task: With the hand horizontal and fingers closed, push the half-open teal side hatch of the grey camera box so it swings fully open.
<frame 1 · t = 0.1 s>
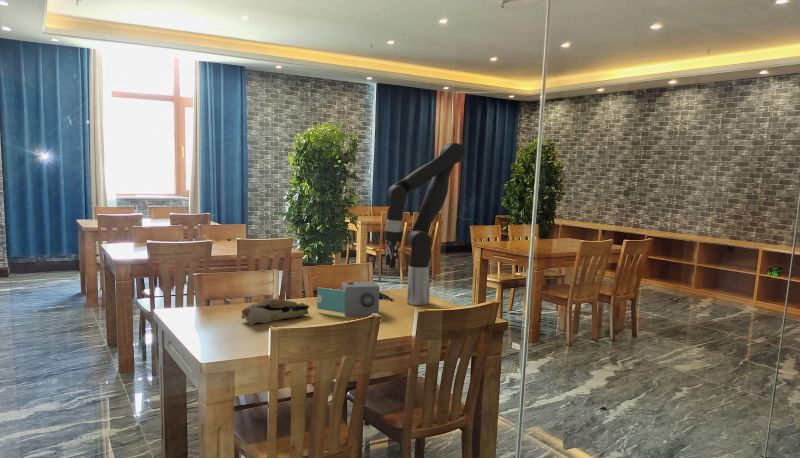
hand: (390, 266, 244), 17 cm above the table, tool pointing down, fingers open, 8 cm apart
camera box: (359, 312, 231), on the table
mineral: (278, 320, 216), on the table
door: (330, 300, 225), point 6 cm above the table, hinge at 50.0°
gun: (368, 299, 258), on the table
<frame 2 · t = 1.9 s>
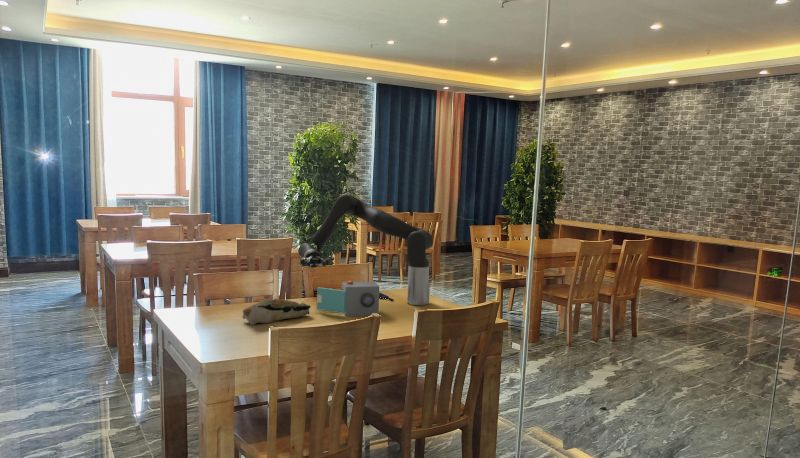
hand: (316, 264, 239), 18 cm above the table, tool horizontal, fingers open, 5 cm apart
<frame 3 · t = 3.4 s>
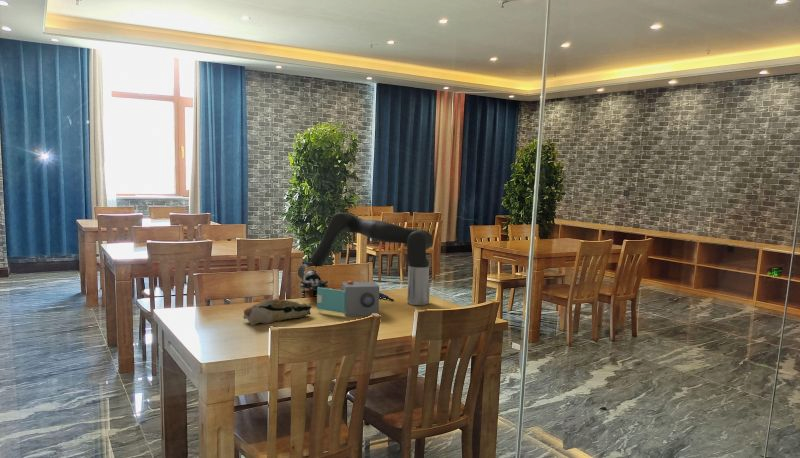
hand: (316, 288, 240), 8 cm above the table, tool horizontal, fingers closed
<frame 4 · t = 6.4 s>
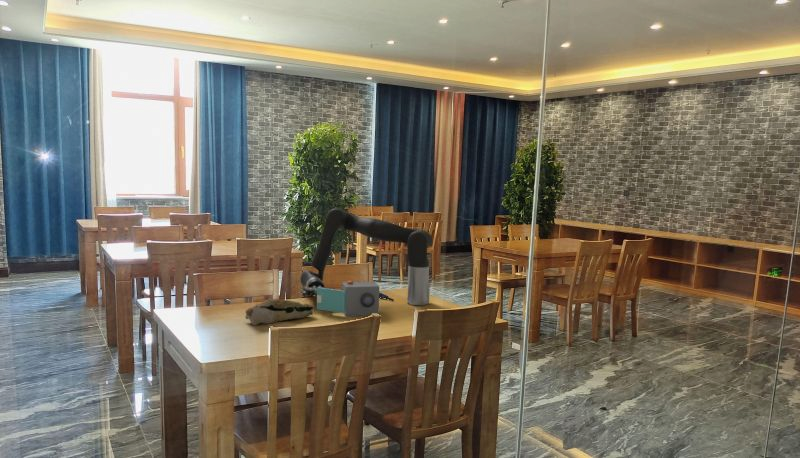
hand: (319, 295, 229), 7 cm above the table, tool horizontal, fingers closed
door: (330, 300, 225), point 6 cm above the table, hinge at 50.7°, touching gripper
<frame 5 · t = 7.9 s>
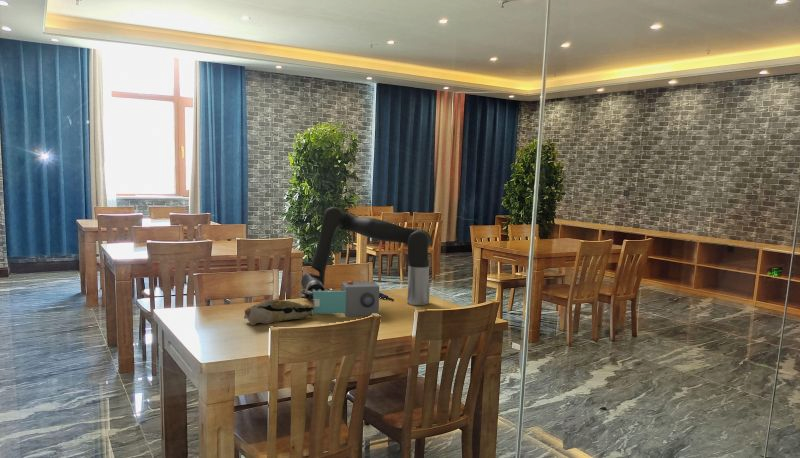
hand: (318, 299, 221), 7 cm above the table, tool horizontal, fingers closed
mineral: (281, 321, 215), on the table, touching door
door: (329, 302, 221), point 6 cm above the table, hinge at 84.2°, touching gripper, mineral
everything else where it was.
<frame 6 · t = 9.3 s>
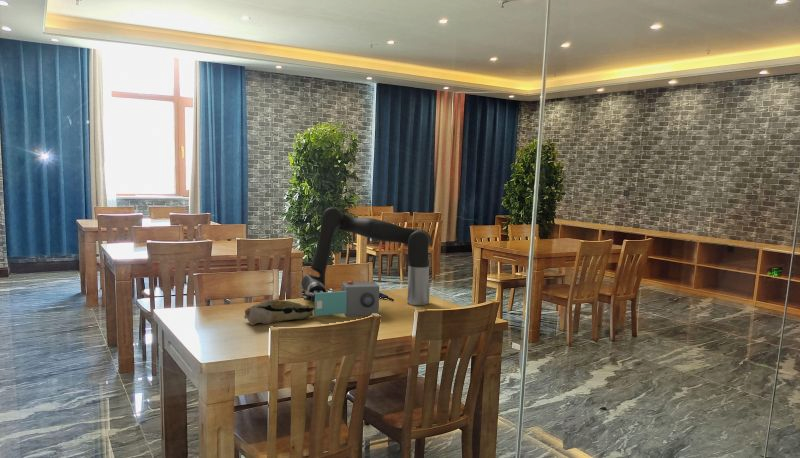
hand: (320, 301, 219), 7 cm above the table, tool horizontal, fingers closed
mineral: (281, 321, 214), on the table
door: (331, 303, 220), point 6 cm above the table, hinge at 100.1°, touching gripper
everything else where it was.
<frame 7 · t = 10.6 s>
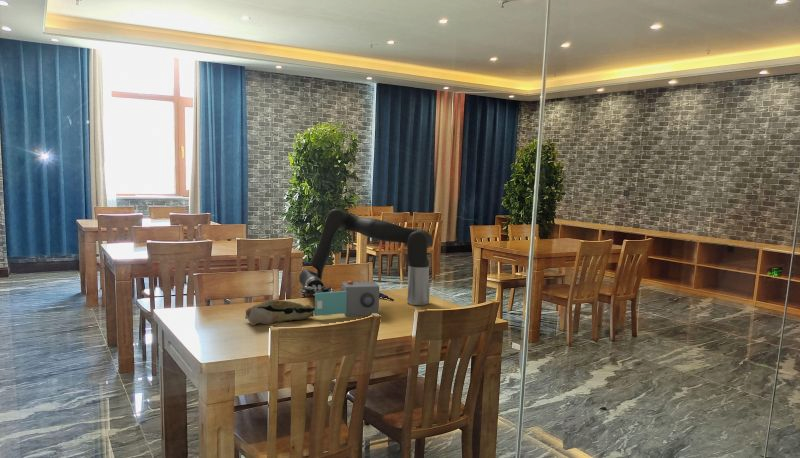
hand: (319, 294, 230), 7 cm above the table, tool horizontal, fingers closed
door: (331, 303, 220), point 6 cm above the table, hinge at 100.3°
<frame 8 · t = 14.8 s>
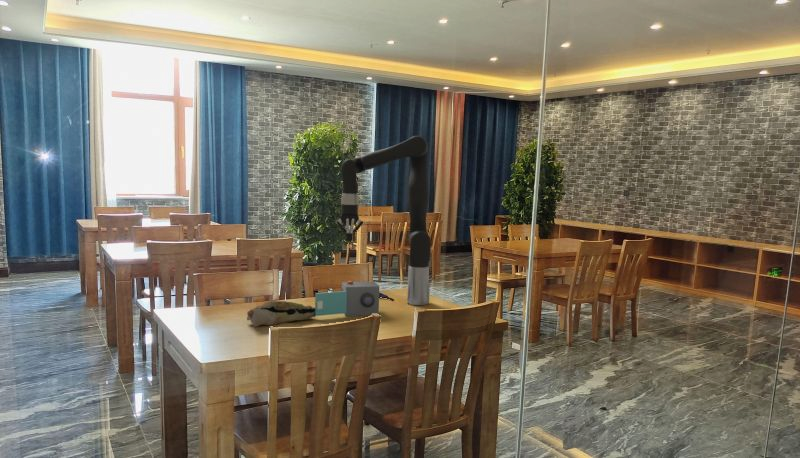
hand: (349, 241, 251), 27 cm above the table, tool pointing down, fingers closed
mineral: (283, 322, 213), on the table
door: (331, 303, 220), point 6 cm above the table, hinge at 102.1°
everything else where it was.
at the end: door at +102° (first picture: +50°); door touching nothing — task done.
